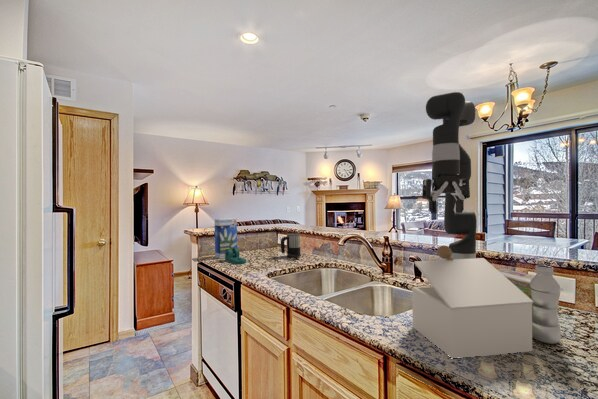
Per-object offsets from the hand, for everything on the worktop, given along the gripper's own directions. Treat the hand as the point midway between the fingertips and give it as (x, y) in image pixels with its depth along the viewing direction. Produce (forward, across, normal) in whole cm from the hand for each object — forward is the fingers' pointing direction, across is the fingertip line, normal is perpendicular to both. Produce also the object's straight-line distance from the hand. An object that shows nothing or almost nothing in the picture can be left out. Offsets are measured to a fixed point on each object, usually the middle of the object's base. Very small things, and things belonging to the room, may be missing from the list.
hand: (446, 213), depth 90 cm
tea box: (+34, -22, +2) cm, 41 cm away
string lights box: (+34, +77, -123) cm, 149 cm away
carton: (+34, 0, +9) cm, 35 cm away
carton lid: (+18, 0, +7) cm, 19 cm away
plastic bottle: (+34, -18, +14) cm, 41 cm away
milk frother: (+34, +32, -110) cm, 120 cm away
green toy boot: (+35, +69, -106) cm, 131 cm away
